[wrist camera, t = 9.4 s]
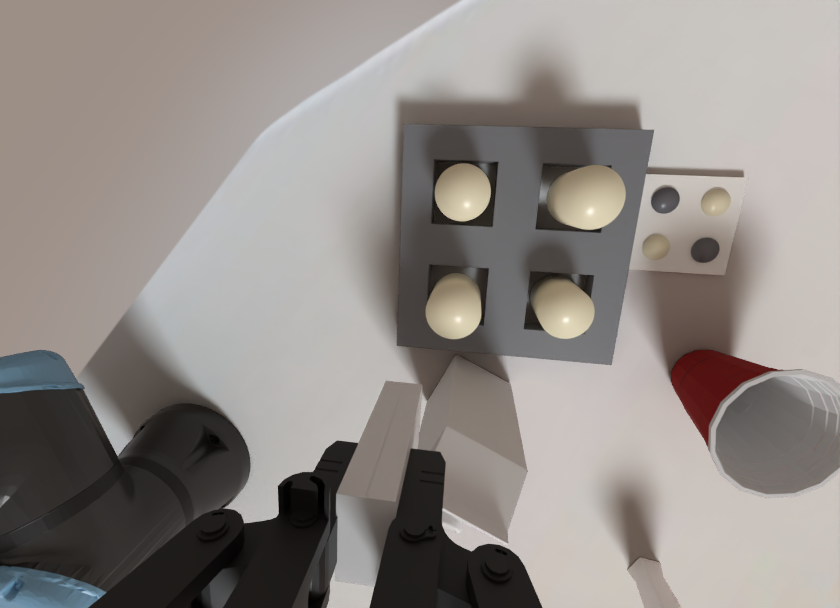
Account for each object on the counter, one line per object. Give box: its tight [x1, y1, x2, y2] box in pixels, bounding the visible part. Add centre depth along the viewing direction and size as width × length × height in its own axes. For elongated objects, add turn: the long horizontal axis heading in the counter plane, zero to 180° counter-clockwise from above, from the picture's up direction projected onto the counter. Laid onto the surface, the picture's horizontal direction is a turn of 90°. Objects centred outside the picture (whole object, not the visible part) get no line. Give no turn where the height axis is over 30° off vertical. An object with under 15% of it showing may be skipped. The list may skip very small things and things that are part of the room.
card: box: [629, 174, 748, 275], centre depth 38 cm, size 9×9×1 cm
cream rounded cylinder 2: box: [426, 273, 481, 339], centre depth 37 cm, size 5×5×6 cm
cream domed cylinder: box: [546, 165, 626, 230], centre depth 33 cm, size 5×5×6 cm
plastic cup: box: [671, 350, 840, 498], centre depth 36 cm, size 11×11×12 cm
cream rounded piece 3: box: [530, 275, 595, 339], centre depth 39 cm, size 5×5×6 cm
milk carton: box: [418, 355, 528, 545], centre depth 37 cm, size 7×7×19 cm
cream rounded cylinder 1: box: [435, 163, 491, 221], centre depth 37 cm, size 5×5×6 cm
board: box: [397, 124, 654, 365], centre depth 40 cm, size 22×22×2 cm
